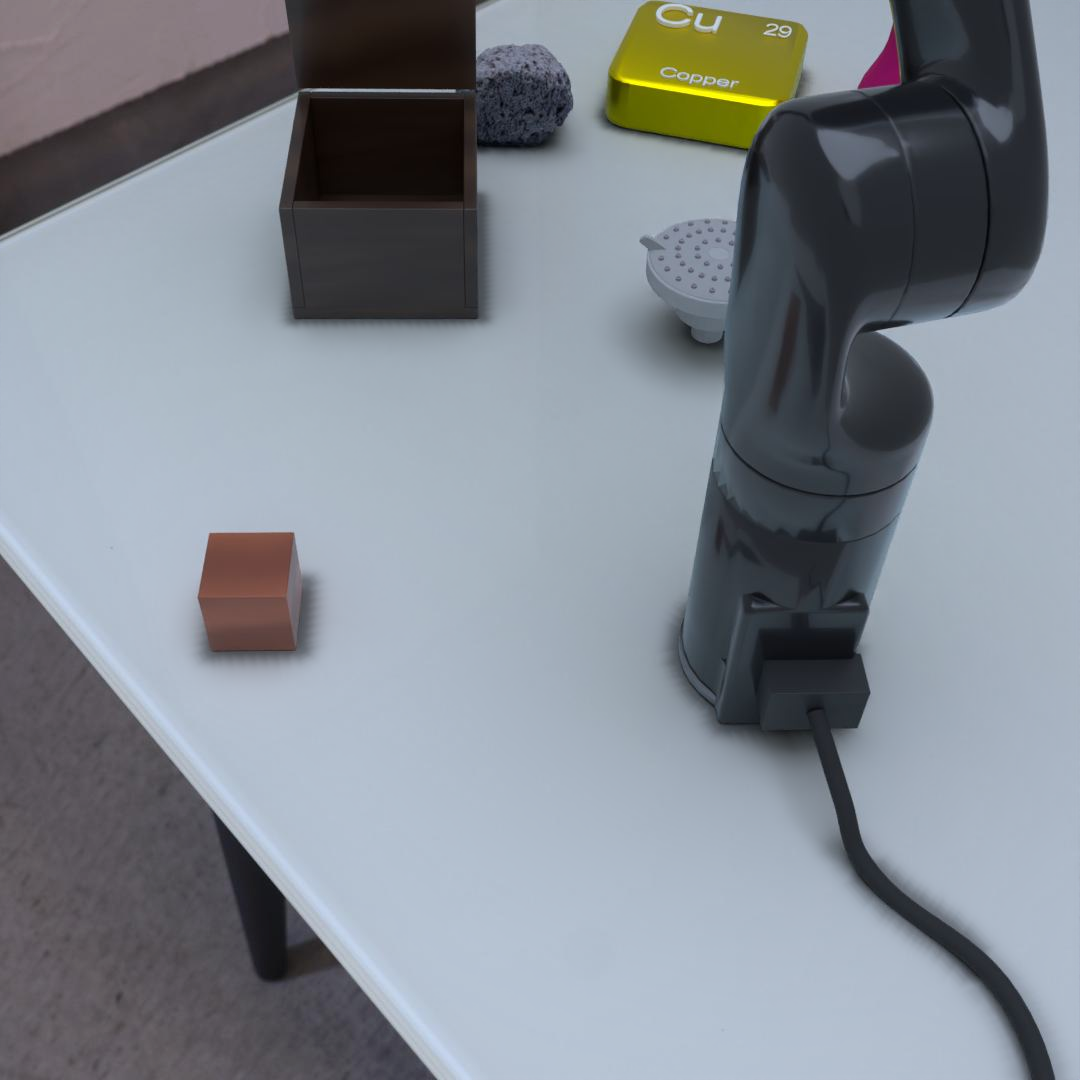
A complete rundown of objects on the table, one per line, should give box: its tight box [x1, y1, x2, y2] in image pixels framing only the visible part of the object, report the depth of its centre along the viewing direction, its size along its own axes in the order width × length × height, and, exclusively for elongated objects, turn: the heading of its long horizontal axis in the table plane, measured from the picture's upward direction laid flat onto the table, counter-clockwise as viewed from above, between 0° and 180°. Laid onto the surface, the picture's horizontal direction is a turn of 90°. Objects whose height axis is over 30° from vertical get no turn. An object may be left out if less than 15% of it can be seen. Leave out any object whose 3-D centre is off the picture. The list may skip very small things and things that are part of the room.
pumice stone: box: [454, 43, 574, 148], centre depth 106 cm, size 10×8×10 cm
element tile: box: [604, 0, 809, 150], centre depth 111 cm, size 15×15×5 cm
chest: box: [278, 90, 479, 319], centre depth 93 cm, size 15×13×9 cm
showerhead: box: [639, 218, 736, 344], centre depth 89 cm, size 9×7×10 cm
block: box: [197, 531, 304, 652], centre depth 72 cm, size 5×5×5 cm
